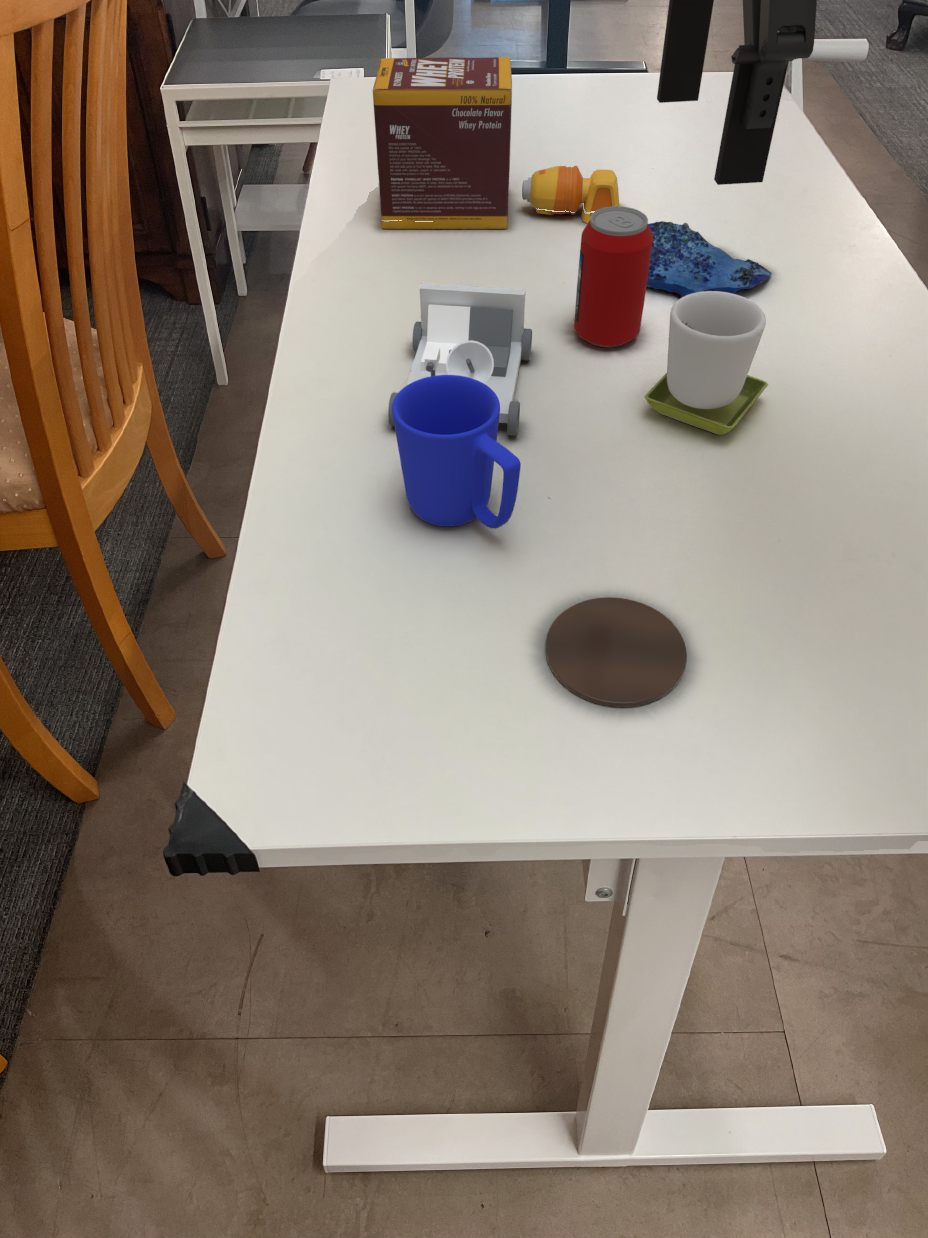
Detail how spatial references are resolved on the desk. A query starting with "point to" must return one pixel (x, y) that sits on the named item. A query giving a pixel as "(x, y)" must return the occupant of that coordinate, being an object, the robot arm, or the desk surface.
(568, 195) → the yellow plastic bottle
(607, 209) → the beverage can
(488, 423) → the mug
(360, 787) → the desk surface
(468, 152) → the supplement box
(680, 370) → the cup
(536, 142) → the desk surface
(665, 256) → the rock
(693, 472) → the desk surface
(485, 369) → the toy car
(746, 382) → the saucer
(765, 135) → the robot arm
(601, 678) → the coaster
